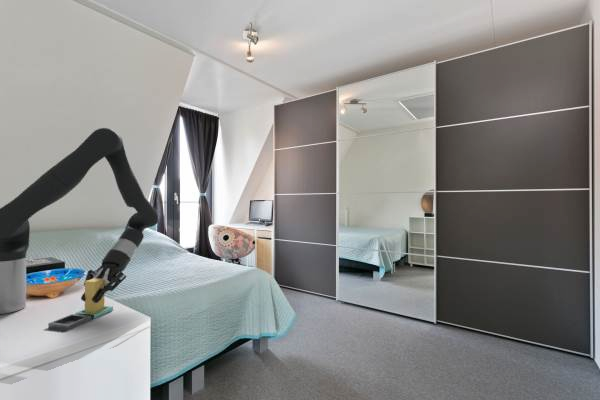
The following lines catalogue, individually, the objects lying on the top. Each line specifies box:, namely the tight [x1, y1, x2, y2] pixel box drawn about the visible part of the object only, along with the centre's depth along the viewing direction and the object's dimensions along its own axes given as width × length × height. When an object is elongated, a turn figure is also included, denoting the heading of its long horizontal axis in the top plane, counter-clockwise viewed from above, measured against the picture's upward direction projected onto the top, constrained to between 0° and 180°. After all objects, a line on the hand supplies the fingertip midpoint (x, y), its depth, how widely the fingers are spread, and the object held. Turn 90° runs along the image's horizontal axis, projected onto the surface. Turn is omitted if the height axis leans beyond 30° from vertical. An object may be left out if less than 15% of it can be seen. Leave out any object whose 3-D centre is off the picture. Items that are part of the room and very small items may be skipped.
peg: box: [84, 278, 105, 314], centre depth 95 cm, size 4×4×10 cm
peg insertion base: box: [43, 305, 114, 334], centre depth 90 cm, size 7×17×2 cm, turn 168°
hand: (89, 300), depth 93 cm, fingers closed on peg, 3 cm apart
